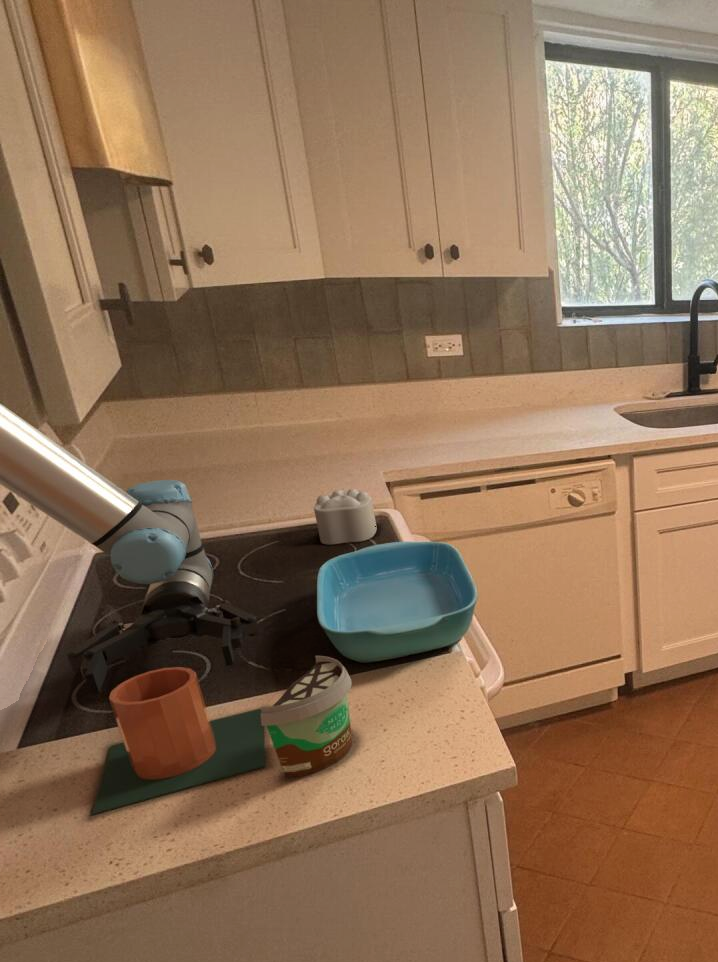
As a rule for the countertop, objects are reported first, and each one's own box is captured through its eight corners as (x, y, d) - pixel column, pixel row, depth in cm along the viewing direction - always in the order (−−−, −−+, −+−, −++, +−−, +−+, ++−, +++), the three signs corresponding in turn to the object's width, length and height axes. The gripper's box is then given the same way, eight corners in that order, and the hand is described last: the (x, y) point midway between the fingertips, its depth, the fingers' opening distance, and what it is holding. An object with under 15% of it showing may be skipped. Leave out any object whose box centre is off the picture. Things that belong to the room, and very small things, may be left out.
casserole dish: (494, 652, 116) (489, 609, 114) (327, 690, 107) (316, 643, 104) (456, 567, 147) (451, 531, 144) (323, 590, 137) (315, 553, 135)
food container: (331, 786, 88) (313, 710, 84) (277, 785, 88) (257, 709, 85) (381, 722, 100) (367, 653, 96) (333, 722, 100) (317, 653, 96)
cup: (138, 750, 94) (114, 678, 90) (217, 730, 98) (197, 660, 94) (130, 788, 87) (104, 712, 84) (215, 765, 91) (193, 691, 88)
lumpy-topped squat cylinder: (316, 545, 157) (308, 505, 154) (327, 525, 169) (319, 486, 166) (373, 540, 160) (365, 499, 157) (380, 519, 172) (373, 482, 169)
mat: (111, 747, 95) (110, 745, 95) (263, 709, 103) (263, 707, 102) (92, 815, 84) (91, 813, 84) (265, 766, 91) (264, 765, 91)
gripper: (281, 608, 120) (284, 670, 103) (75, 648, 108) (40, 725, 91) (270, 563, 117) (272, 619, 100) (58, 599, 106) (19, 669, 89)
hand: (162, 669), depth 96 cm, fingers open, 13 cm apart
